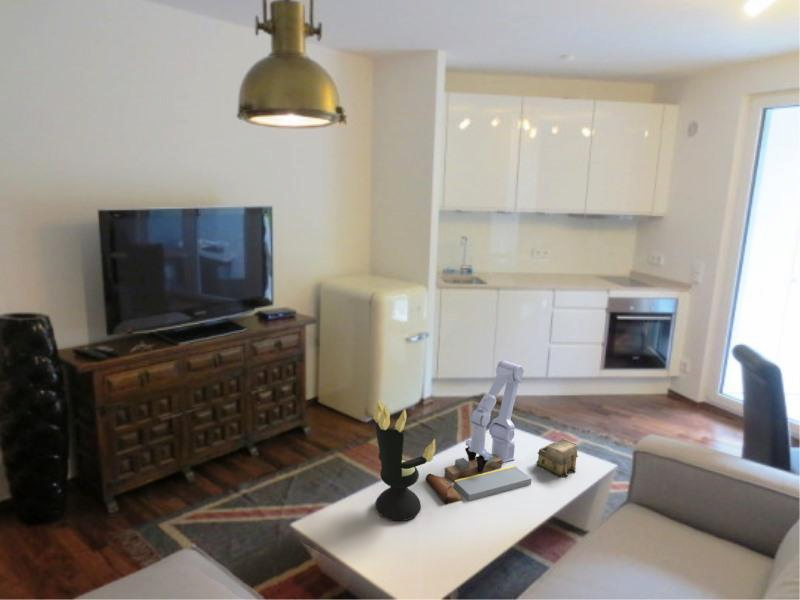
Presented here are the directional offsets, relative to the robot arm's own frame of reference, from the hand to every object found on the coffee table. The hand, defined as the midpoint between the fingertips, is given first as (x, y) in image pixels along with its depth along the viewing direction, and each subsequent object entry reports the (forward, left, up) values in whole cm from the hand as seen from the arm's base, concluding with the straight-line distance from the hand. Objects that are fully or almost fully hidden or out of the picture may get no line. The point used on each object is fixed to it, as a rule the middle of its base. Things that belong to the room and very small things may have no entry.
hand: (475, 467), depth 233 cm
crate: (+7, 0, +2) cm, 8 cm away
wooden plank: (+1, 0, -2) cm, 2 cm away
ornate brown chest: (-35, +11, -2) cm, 37 cm away
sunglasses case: (+20, +7, -2) cm, 22 cm away
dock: (0, +12, -1) cm, 12 cm away
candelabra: (+44, +13, -2) cm, 46 cm away
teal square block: (-5, 0, +2) cm, 6 cm away
